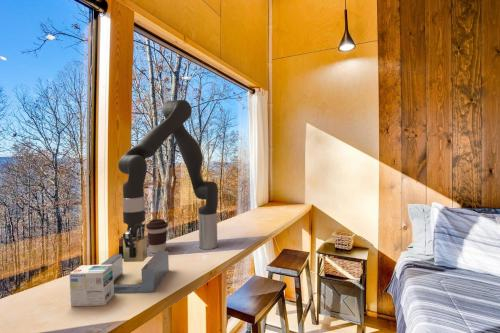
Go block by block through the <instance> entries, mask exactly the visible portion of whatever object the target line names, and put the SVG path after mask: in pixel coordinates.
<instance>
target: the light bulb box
mask: <svg viewBox="0 0 500 333" xmlns="http://www.w3.org/2000/svg"><path fill="white" fill-rule="evenodd" d="M114 282H115V281H114V278H113V264H106V265H101V264H90V265H89V264H87V265H84V264H83V265H82V264H81V265H80V266H78V267H77V268H75V269H74V270H73V271H71V272H70V273H69V290H70V306H71V307H89V306H90V307H93V306H95V307H96V306H105V305H106V304H107V303H108V302H109V301H110V300H111V299H112V298H113V297H114V296H115V293H114V284H115V283H114Z"/></svg>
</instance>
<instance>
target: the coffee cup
mask: <svg viewBox="0 0 500 333" xmlns="http://www.w3.org/2000/svg"><path fill="white" fill-rule="evenodd" d="M168 226H169V224H168V221H165V220H164V219H161V218H157V219H156V218H155V219H151V220H149V222H148V223H147V224H145V229H147V239H148V241H147V242H148V244H149V252H150V254H151V253H152V254H156V253H157V252H158V251H167V250H166V248H167V236H168V234H167V233H168V229H167V228H168Z"/></svg>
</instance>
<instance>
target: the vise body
mask: <svg viewBox="0 0 500 333" xmlns="http://www.w3.org/2000/svg"><path fill="white" fill-rule="evenodd" d="M169 266H170V265H169V251H168V250H165V251H158V252H157V253H154V255H153V256H152V257H151V258H150V259H149V260H148V261H147V262H146V264H145V265H143V267H142V268H141V270H140V271H141V283H126V284H125V283H123V284H120V283H119V284H117V283H116V284H115V283H114V294H122V293H123V294H127V293H128V294H129V293H130V294H131V293H132V294H135V293H155V291H156V290H157V289H158V287H159V286H160V284H161V283H162V281H163V280H164V279H165V277H166V275H167V274H168V273H169V271H170V269H169V268H170V267H169Z"/></svg>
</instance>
